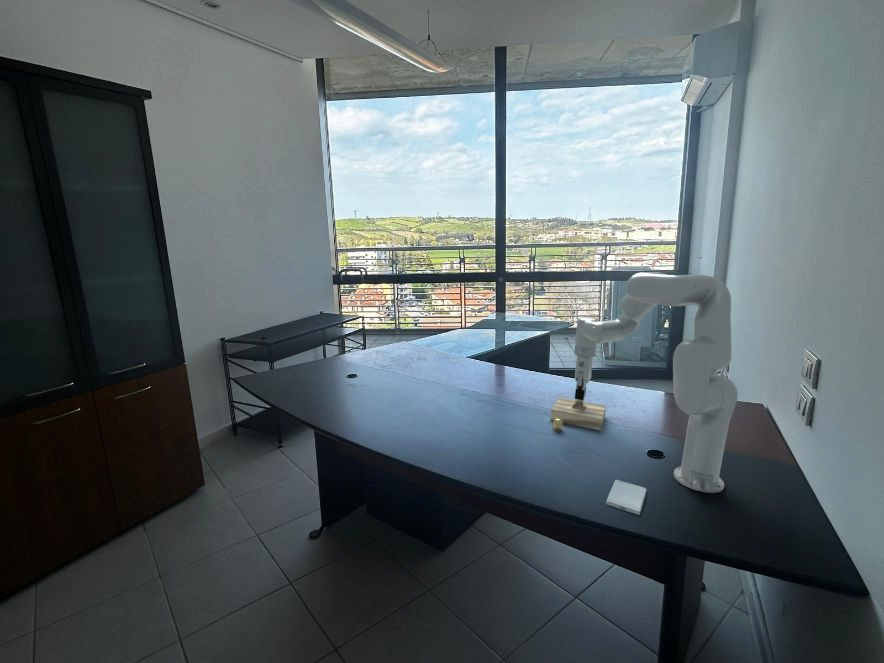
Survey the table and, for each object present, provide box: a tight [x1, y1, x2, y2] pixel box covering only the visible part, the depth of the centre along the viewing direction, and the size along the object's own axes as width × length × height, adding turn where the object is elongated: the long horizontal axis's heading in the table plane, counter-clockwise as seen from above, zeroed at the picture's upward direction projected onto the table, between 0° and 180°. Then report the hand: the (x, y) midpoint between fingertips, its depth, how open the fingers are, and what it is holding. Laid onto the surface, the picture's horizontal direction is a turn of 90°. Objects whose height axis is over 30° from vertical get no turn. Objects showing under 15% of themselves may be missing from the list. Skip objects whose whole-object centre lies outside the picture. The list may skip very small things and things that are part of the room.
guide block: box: [550, 396, 607, 431], centre depth 167 cm, size 14×18×4 cm
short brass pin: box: [552, 417, 564, 432], centre depth 157 cm, size 3×3×4 cm
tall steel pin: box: [574, 380, 587, 407], centre depth 166 cm, size 3×3×10 cm
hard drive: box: [605, 479, 648, 516], centre depth 117 cm, size 2×8×12 cm
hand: (580, 397), depth 166 cm, fingers closed on tall steel pin, 3 cm apart
